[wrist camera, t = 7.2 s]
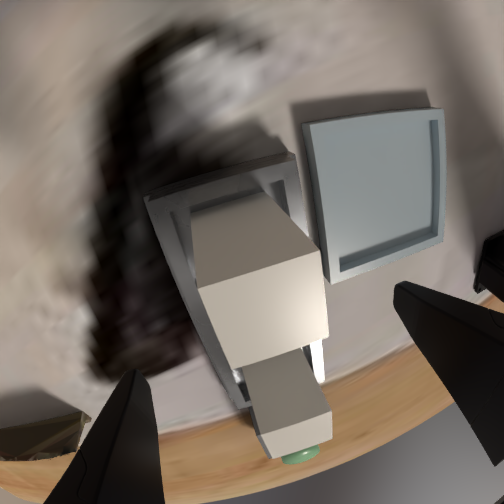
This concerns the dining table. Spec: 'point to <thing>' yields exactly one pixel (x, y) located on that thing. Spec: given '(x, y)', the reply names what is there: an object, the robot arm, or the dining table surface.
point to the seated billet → (288, 403)
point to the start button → (301, 455)
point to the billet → (258, 279)
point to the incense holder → (42, 438)
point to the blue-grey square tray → (377, 187)
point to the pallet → (181, 245)
